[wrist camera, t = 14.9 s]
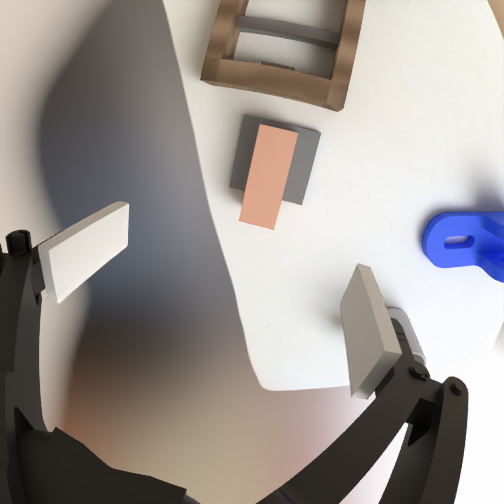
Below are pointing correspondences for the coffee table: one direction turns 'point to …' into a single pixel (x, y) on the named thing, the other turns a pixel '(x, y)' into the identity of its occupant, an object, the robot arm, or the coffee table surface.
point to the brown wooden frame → (278, 76)
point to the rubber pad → (299, 162)
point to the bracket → (475, 249)
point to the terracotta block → (267, 176)
